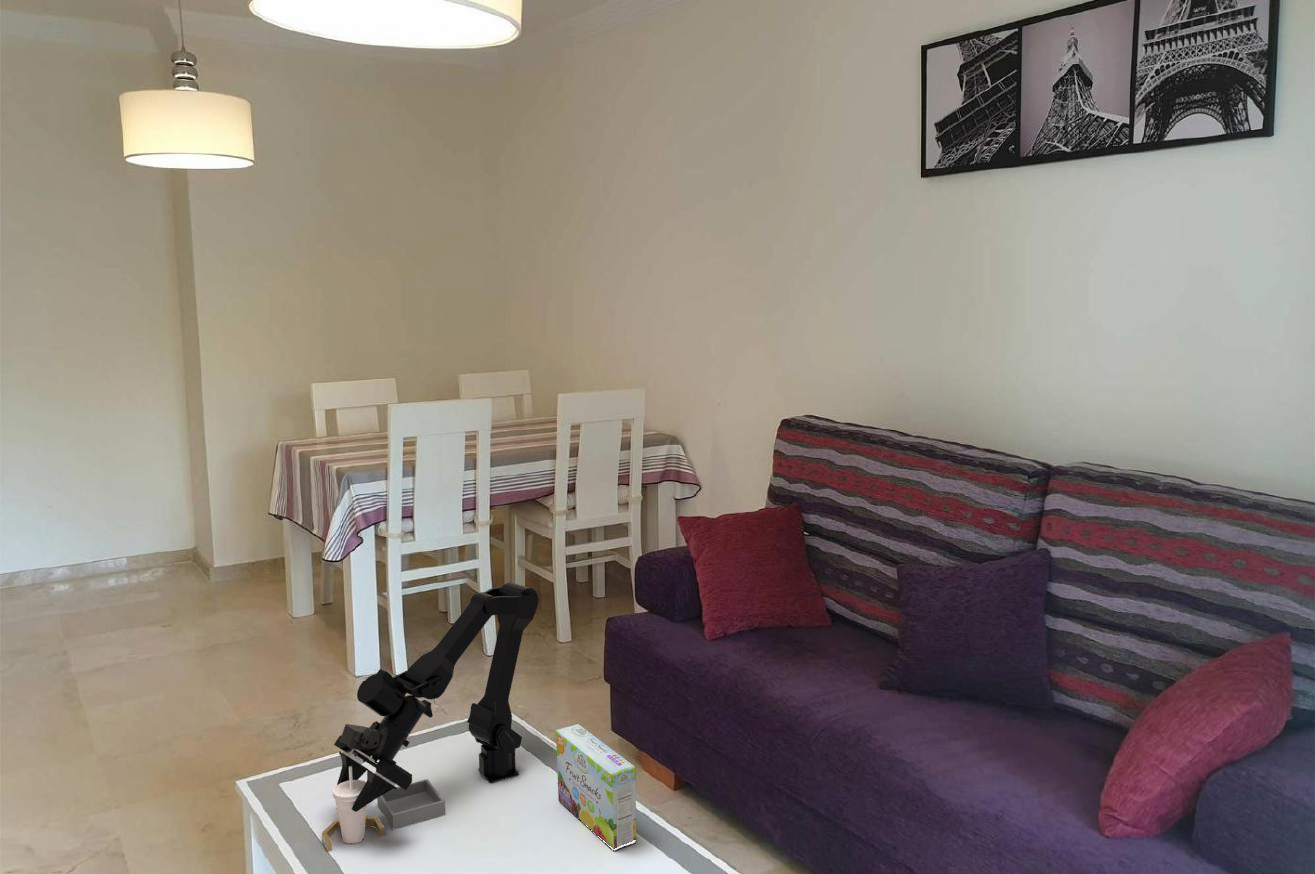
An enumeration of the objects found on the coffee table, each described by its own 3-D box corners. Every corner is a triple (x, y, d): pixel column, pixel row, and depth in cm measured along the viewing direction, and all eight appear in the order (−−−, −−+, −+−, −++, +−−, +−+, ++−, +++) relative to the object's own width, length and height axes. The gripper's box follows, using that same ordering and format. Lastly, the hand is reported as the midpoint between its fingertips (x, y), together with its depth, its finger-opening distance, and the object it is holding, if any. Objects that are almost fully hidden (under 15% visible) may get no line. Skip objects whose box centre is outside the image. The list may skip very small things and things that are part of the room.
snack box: (555, 802, 195) (554, 728, 193) (580, 794, 199) (579, 721, 196) (612, 853, 178) (611, 773, 176) (638, 843, 181) (638, 764, 179)
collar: (373, 817, 189) (373, 810, 189) (384, 834, 184) (384, 827, 183) (317, 832, 184) (317, 825, 184) (327, 851, 178) (327, 843, 178)
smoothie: (337, 850, 178) (333, 776, 176) (332, 833, 184) (328, 761, 182) (374, 842, 181) (371, 769, 179) (368, 825, 187) (365, 754, 185)
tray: (427, 792, 199) (427, 778, 199) (445, 814, 191) (445, 800, 190) (377, 805, 194) (376, 792, 193) (393, 829, 185) (392, 815, 185)
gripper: (341, 692, 188) (287, 767, 182) (394, 722, 175) (339, 804, 169) (380, 719, 195) (330, 792, 189) (434, 749, 182) (383, 830, 176)
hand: (344, 804), depth 180 cm, fingers closed on smoothie, 6 cm apart
